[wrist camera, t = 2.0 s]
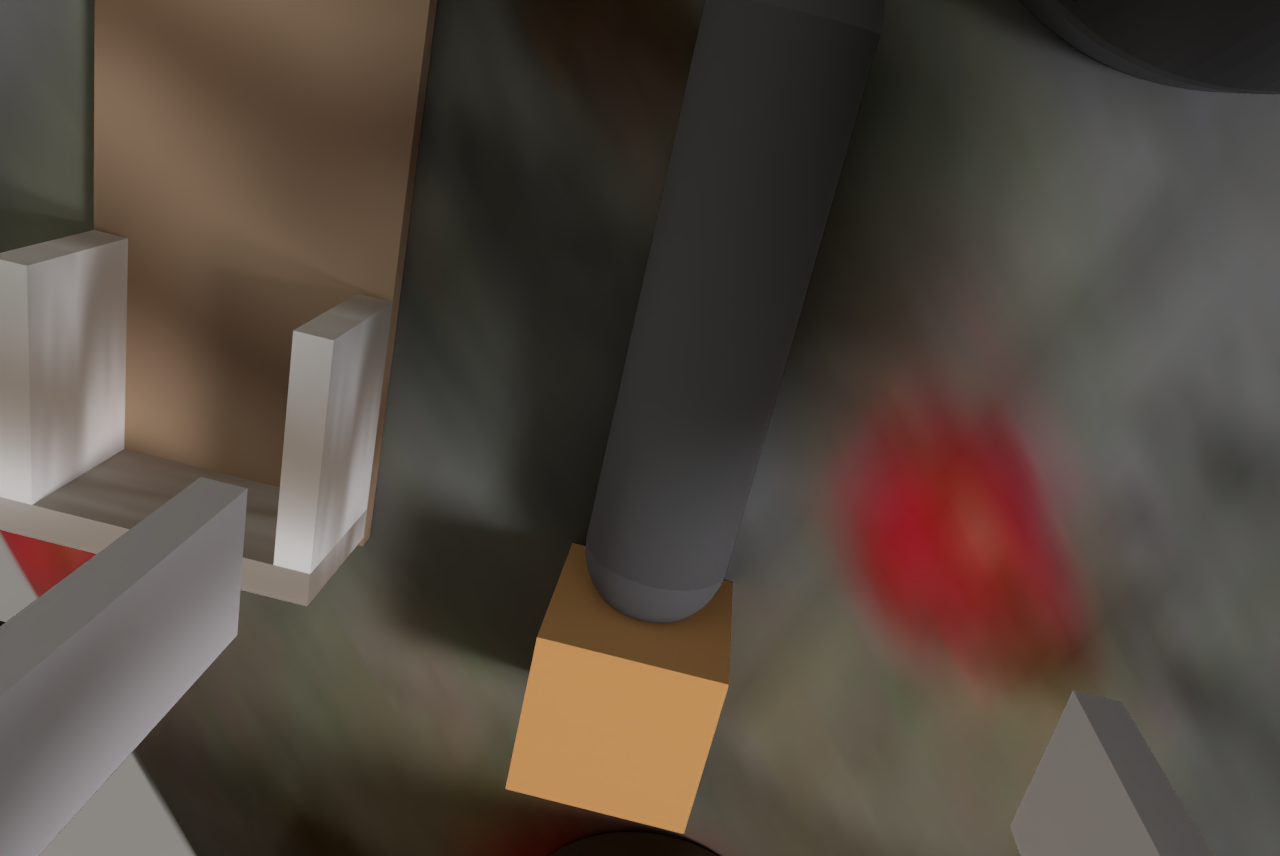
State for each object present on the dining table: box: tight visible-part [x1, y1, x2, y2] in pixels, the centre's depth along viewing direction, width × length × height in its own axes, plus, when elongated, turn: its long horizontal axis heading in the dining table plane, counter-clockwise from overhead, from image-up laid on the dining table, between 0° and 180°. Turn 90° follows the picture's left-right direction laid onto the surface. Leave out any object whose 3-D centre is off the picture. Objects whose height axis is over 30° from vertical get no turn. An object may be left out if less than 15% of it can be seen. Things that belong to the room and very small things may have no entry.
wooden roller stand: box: [0, 0, 437, 606], centre depth 22 cm, size 26×9×6 cm, turn 168°
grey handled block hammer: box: [505, 0, 884, 834], centre depth 24 cm, size 22×5×5 cm, turn 168°
